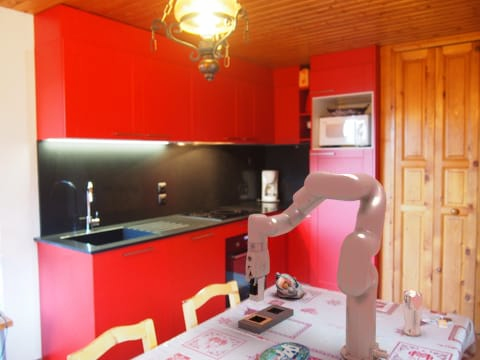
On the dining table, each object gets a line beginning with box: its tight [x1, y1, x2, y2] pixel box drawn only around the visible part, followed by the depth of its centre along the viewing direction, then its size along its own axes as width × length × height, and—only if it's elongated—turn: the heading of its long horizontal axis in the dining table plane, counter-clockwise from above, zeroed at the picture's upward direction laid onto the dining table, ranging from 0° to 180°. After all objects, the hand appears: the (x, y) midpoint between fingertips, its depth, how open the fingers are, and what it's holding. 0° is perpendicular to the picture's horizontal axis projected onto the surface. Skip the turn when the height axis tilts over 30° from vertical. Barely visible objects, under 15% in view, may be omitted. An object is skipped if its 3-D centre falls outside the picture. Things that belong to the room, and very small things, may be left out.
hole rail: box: [237, 303, 294, 335], centre depth 159 cm, size 10×24×3 cm, turn 141°
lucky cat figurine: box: [275, 271, 306, 299], centre depth 190 cm, size 15×12×14 cm
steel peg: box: [249, 276, 265, 303], centre depth 154 cm, size 4×4×9 cm
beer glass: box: [401, 290, 424, 337], centre depth 149 cm, size 7×7×15 cm
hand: (256, 292), depth 154 cm, fingers closed on steel peg, 4 cm apart
